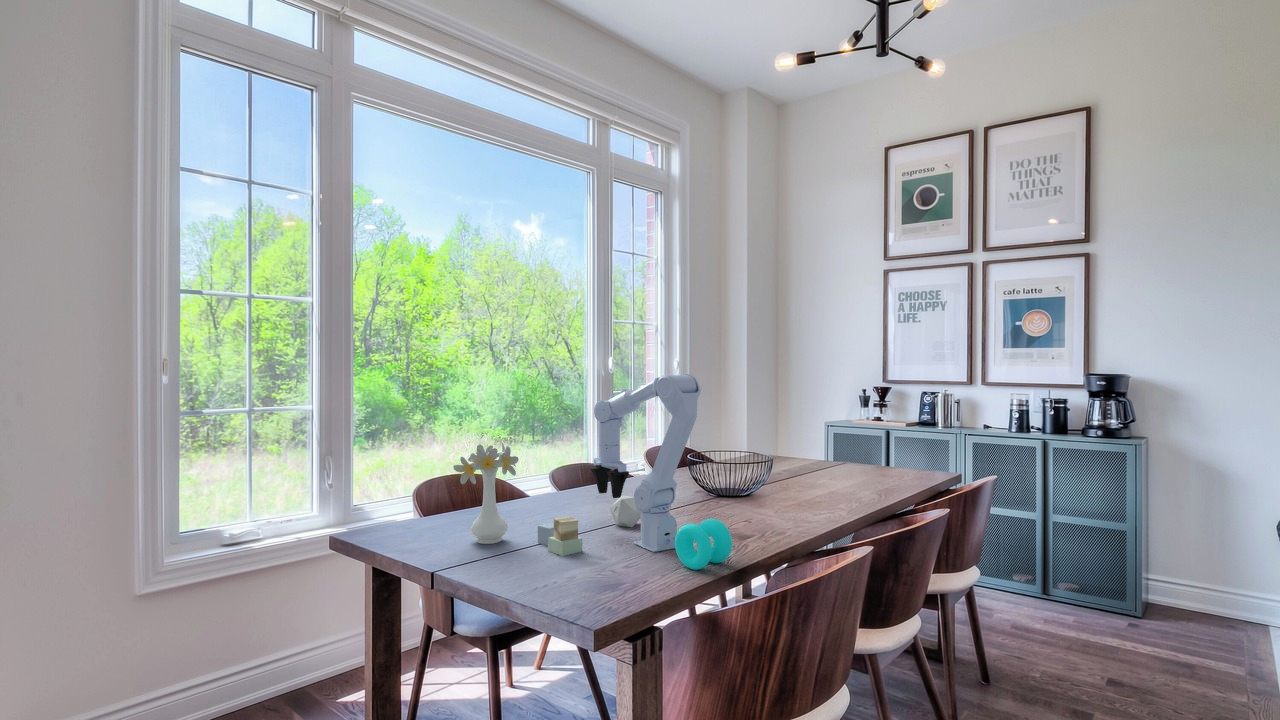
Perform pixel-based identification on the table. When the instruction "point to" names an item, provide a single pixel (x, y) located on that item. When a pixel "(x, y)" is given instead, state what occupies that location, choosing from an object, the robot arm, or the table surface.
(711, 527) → the donuts
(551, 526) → the slate cube
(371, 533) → the table surface
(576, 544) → the pale green block
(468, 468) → the flower vase
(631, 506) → the die
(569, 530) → the beech cube
